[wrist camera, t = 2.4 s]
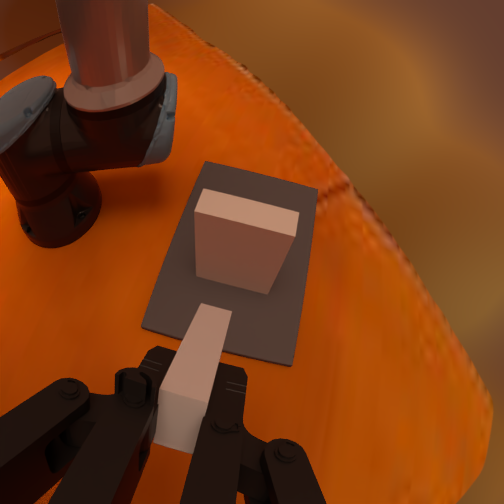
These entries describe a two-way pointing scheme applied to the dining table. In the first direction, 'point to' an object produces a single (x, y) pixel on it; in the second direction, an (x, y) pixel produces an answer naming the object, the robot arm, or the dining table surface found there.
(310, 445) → the dining table surface
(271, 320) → the mat
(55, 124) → the robot arm
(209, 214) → the tile
